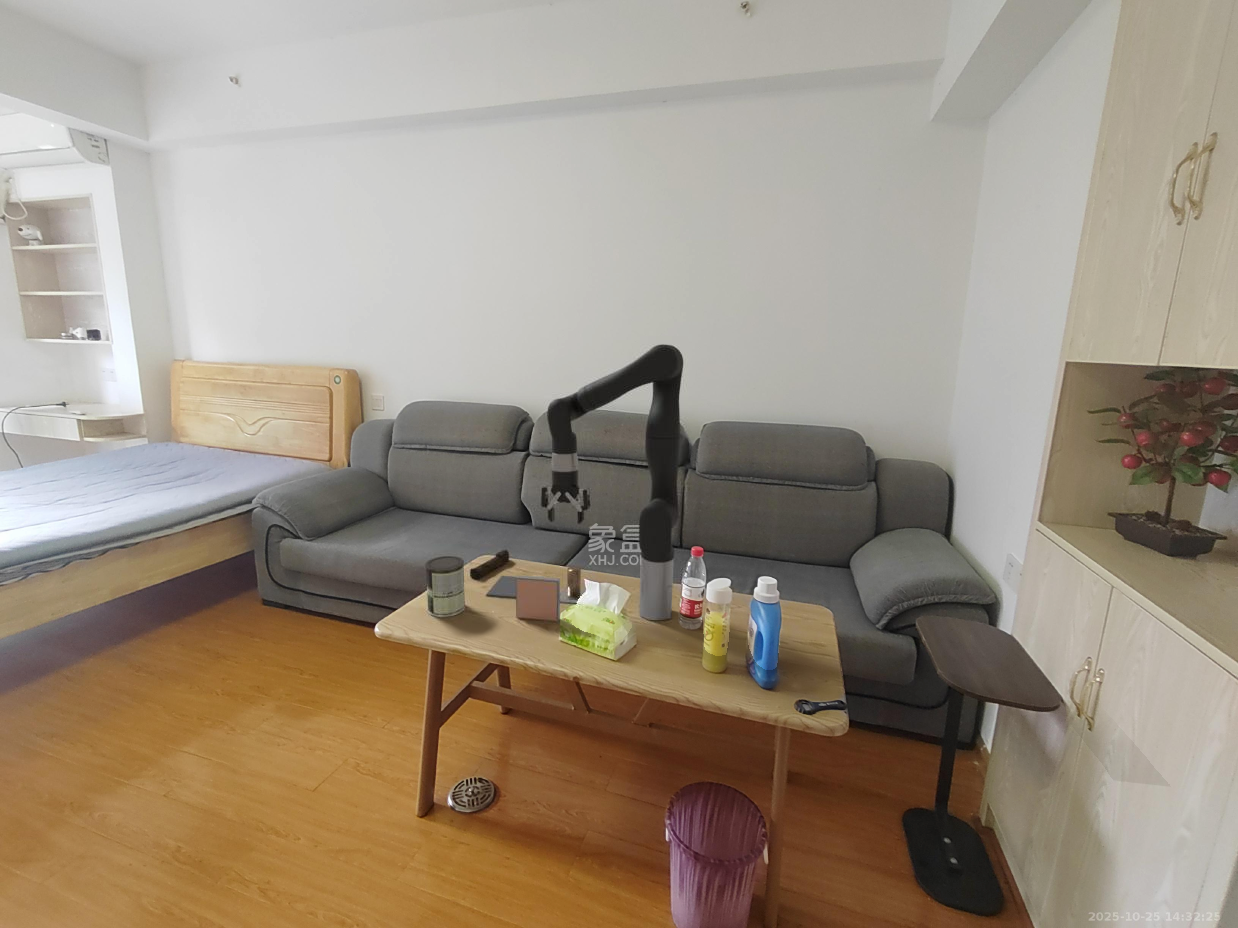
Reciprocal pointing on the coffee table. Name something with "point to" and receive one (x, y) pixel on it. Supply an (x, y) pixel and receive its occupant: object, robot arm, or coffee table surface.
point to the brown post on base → (572, 586)
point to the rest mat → (504, 587)
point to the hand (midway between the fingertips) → (566, 522)
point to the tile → (538, 598)
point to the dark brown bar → (490, 565)
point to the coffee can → (445, 586)
